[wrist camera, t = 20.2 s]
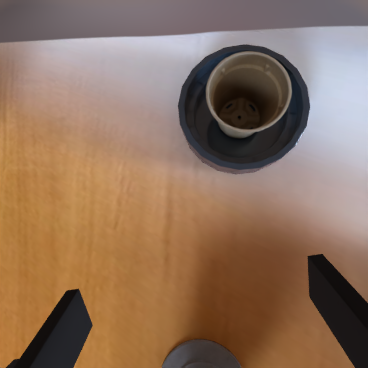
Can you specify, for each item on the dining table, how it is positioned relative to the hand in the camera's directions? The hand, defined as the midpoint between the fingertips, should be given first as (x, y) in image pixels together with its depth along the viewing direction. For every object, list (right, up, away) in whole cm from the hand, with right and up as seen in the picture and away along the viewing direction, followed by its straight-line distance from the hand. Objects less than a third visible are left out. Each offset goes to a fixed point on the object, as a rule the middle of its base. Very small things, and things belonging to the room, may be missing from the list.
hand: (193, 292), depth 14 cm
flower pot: (+8, +16, +22) cm, 28 cm away
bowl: (+8, +16, +22) cm, 28 cm away
